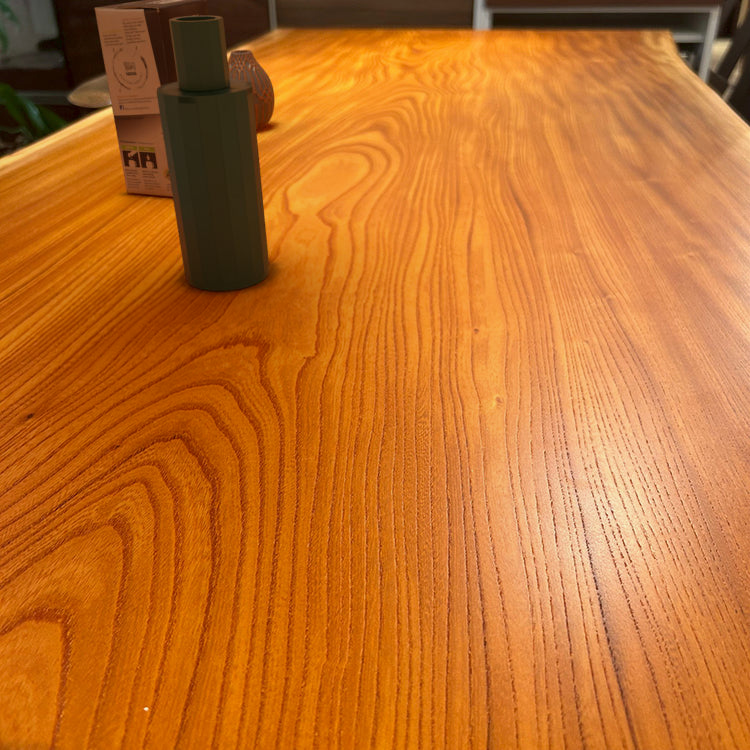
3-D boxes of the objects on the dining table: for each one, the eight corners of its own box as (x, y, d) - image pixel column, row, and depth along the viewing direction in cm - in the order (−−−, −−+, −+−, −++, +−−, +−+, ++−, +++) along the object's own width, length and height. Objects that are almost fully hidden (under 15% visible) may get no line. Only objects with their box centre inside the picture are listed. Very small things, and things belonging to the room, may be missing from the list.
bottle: (172, 288, 54) (128, 24, 46) (204, 256, 59) (169, 13, 51) (254, 293, 53) (225, 24, 45) (279, 260, 58) (257, 13, 50)
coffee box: (185, 199, 71) (157, 6, 63) (125, 194, 73) (89, 6, 65) (229, 171, 79) (209, -4, 71) (173, 167, 81) (147, -4, 72)
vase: (232, 137, 91) (223, 57, 87) (212, 125, 97) (203, 50, 92) (285, 129, 94) (280, 52, 90) (263, 118, 100) (257, 45, 95)
